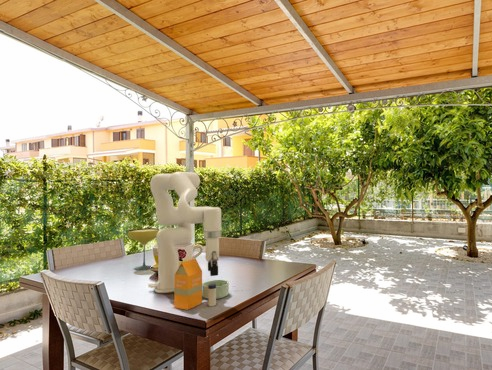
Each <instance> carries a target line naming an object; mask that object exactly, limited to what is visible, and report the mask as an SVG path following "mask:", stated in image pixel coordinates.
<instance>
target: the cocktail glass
mask: <svg viewBox="0 0 492 370" xmlns="http://www.w3.org/2000/svg"><path fill="white" fill-rule="evenodd" d="M160 230H161V229H160V228H155V227H153V228H151V227H150V228H149V227H148V228H134V229H129V230H128V233H127V234H128V235H127V236H128V238H130V239H131V240H133V241H135V242H138V243H140V244H141V246H143V262H142V265H140V266H136V267H135V268H134V270H136V271H146V270H150V269H149V268H150V267H151V266H152V265H146V248H145V247H146V246H147V244H148V243H149V242H151V241H153V240H155V239H156V236H157V233H158V232H159V231H160Z"/></svg>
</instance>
